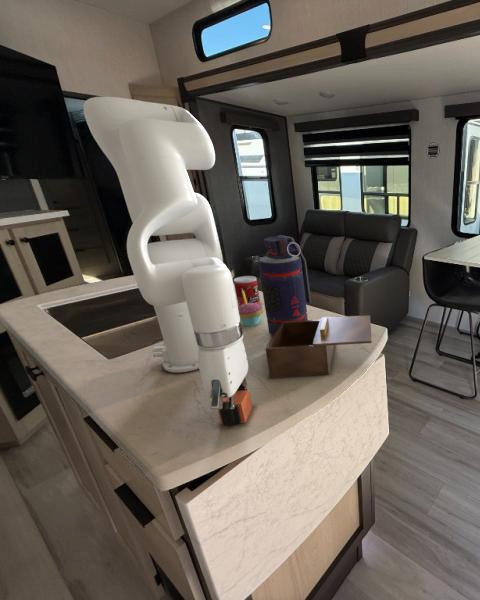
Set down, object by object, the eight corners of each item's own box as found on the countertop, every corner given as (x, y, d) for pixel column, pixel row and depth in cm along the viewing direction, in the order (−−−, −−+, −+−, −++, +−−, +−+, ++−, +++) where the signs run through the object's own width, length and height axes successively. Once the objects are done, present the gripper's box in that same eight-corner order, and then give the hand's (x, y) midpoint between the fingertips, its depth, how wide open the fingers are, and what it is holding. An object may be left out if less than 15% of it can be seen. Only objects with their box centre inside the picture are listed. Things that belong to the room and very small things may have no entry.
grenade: (282, 345, 93) (267, 242, 82) (262, 333, 100) (246, 237, 89) (321, 329, 102) (312, 236, 92) (300, 319, 110) (290, 232, 99)
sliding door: (312, 346, 75) (311, 337, 74) (320, 319, 90) (320, 311, 89) (371, 343, 77) (371, 334, 76) (370, 317, 92) (369, 309, 91)
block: (221, 424, 62) (216, 405, 61) (230, 409, 66) (226, 391, 65) (245, 422, 63) (241, 404, 61) (252, 407, 67) (249, 389, 65)
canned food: (252, 310, 118) (247, 282, 114) (233, 308, 120) (228, 280, 116) (265, 303, 125) (260, 276, 121) (247, 301, 127) (242, 275, 123)
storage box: (270, 378, 77) (265, 349, 74) (285, 346, 92) (281, 321, 89) (328, 374, 78) (326, 345, 76) (334, 344, 93) (332, 319, 91)
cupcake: (232, 325, 106) (225, 291, 102) (254, 316, 113) (249, 284, 108) (248, 330, 102) (241, 295, 97) (270, 321, 108) (265, 288, 104)
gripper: (217, 316, 66) (233, 390, 72) (171, 358, 50) (197, 448, 56) (255, 314, 66) (268, 388, 73) (221, 355, 51) (241, 444, 57)
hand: (237, 413), depth 64 cm, fingers closed on block, 4 cm apart
